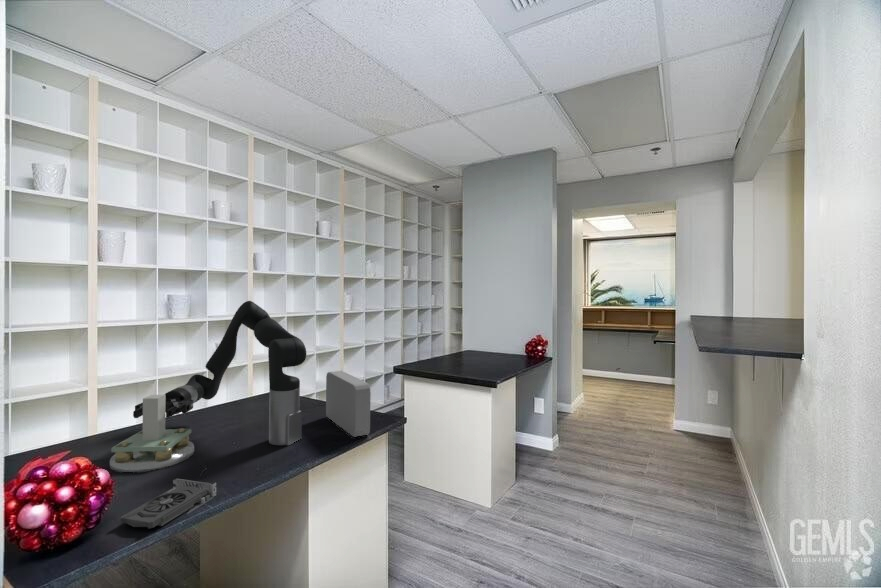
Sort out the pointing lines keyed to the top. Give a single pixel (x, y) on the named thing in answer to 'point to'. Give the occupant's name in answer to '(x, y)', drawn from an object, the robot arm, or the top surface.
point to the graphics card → (170, 504)
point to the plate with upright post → (152, 429)
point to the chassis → (152, 457)
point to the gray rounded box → (348, 402)
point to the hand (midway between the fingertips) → (151, 414)
